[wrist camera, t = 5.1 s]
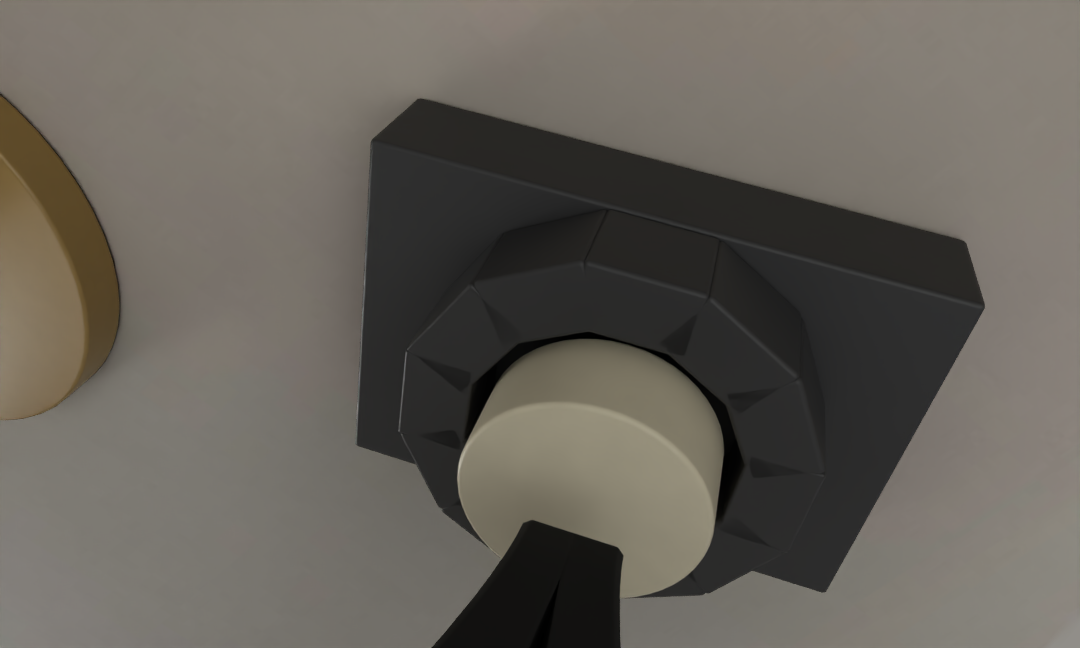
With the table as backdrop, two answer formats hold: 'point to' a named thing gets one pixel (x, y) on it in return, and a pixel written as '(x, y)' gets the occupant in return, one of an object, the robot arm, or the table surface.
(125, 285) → the table surface
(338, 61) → the table surface
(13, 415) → the desk lamp
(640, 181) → the switch block
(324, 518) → the table surface
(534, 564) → the robot arm
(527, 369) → the button
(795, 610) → the table surface
